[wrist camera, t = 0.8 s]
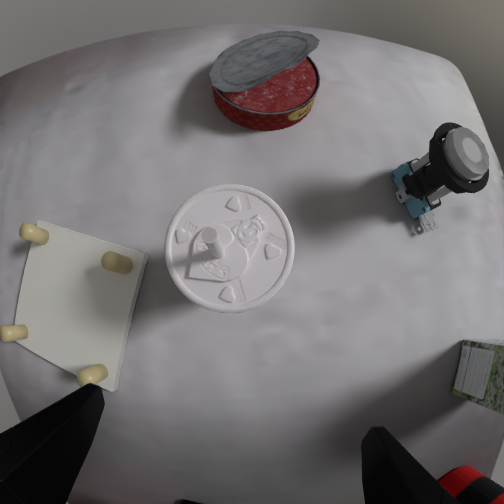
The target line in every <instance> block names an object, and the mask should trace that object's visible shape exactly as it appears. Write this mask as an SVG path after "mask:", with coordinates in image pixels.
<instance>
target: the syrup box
mask: <svg viewBox="0 0 504 504" xmlns="http://www.w3.org/2000/svg"><path fill="white" fill-rule="evenodd" d="M452 393H453V394H455V395H457V396H460V397H462V398H464V399H467V400H469V401H471V402H474V403H476V404H479V405H481V406H484V407H486V408H489V409H491V410H494V411H496V412H499V413H501V414H504V340H473V339H464V340H463V341H462V346H461V352H460V357H459V362H458V367H457V372H456V376H455V381H454V385H453V389H452Z"/></svg>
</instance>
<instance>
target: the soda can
mask: <svg viewBox="0 0 504 504" xmlns="http://www.w3.org/2000/svg"><path fill="white" fill-rule="evenodd" d="M439 483H440V484H441V485H442V488H445V489H446V490H447V491H448V492H449V493H450V494H451V495H452V496H453V497H454V498H455V499H456V500H457V501H458V502H460V503H461V504H504V488H503V487H502V486H500V485H499V484H497V483H495V482H494V481H492V480H491V479H489V478H488V477H486V476H484V475H483V474H481V473H480V472H478V471H477V470H475V469H474V468H472V467H470V466H464V467H460V468H457V469H455V470H453V471H451V472H450V473H448V474H447V475H446V476H444V477H443V478H442V479H441V480H440V481H439Z"/></svg>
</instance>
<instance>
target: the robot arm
mask: <svg viewBox="0 0 504 504" xmlns="http://www.w3.org/2000/svg"><path fill="white" fill-rule="evenodd" d="M104 405H105V402H104V397H103V393H102V389H101V387H100V386H99V385H96V384H93V383H87V384H86V385H84V386H82V387H81V388H79V389H77V390H76V391H74V392H72V393H71V394H69V395H67V396H65V397H64V398H62V399H60V400H59V401H57V402H55V403H53V404H52V405H50V406H48V407H47V408H45V409H43V410H41V411H40V412H38V413H36V414H34V415H33V416H31V417H29V418H27V419H26V420H24V421H22V422H20V423H19V424H17V425H15V426H14V427H11V428H9V429H8V430H6V431H4V432H2V433H0V504H66V502H67V499H68V497H69V494H70V492H71V490H72V487H73V485H74V483H75V480H76V478H77V476H78V474H79V471H80V469H81V467H82V465H83V462H84V460H85V458H86V456H87V454H88V451H89V449H90V447H91V445H92V442H93V439H94V436H95V433H96V430H97V427H98V424H99V421H100V418H101V415H102V412H103V409H104ZM361 453H362V483H363V491H364V498H365V504H461V503H460V502H458V501H457V500H456V499H455V498H454V497H453V496H452V495H451V494H450V493H449V492H448V491H447V490H446V489H445V488H442V485H441V484H440V483H439V482H438V481H437V480H436V479H435V478H434V477H433V476H432V475H431V474H430V473H429V472H428V471H427V470H426V469H425V468H424V467H423V466H422V465H421V464H420V463H419V462H418V461H417V460H416V459H415V458H414V457H413V456H412V455H411V454H410V453H409V452H408V451H407V450H406V449H405V448H404V447H403V446H402V445H401V444H400V443H399V442H398V441H397V440H396V439H395V438H394V437H393V436H392V435H391V434H390V432H389V431H388V430H387V429H386V428H385V427H383V426H373V427H371V428H370V430H369V431H368V433H367V434H366V435H365V437H364V438H363V440H362V443H361ZM181 504H199V503H195V502H191V501H188V500H183V501H182V502H181Z"/></svg>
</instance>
